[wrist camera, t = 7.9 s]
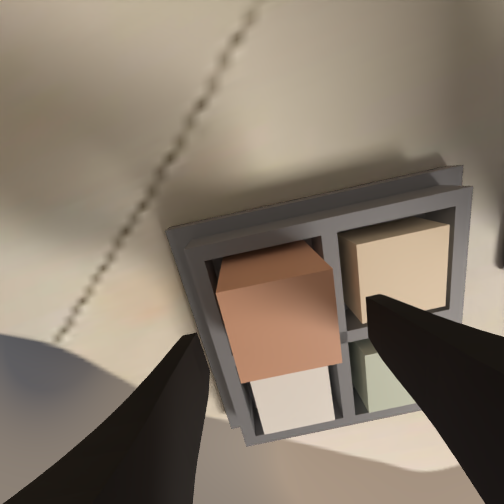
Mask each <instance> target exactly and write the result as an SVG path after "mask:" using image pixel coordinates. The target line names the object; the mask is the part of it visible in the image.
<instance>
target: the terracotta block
mask: <svg viewBox="0 0 504 504" xmlns="http://www.w3.org/2000/svg"><path fill="white" fill-rule="evenodd" d="M216 296H217V300H218V303H219V307H220V310H221V314H222V317H223V321H224V324H225V328H226V332H227V335H228V339H229V342H230V346H231V349H232V353H233V356H234V360H235V364H236V367H237V371H238V374H239V378H240V381H241V383H246V382H251V381H256V380H261V379H266V378H271V377H276V376H280V375H285V374H290V373H295V372H300V371H305V370H310V369H315V368H320V367H324V366H329V365H334V364H339V363H342V354H341V344H340V334H339V324H338V315H337V305H336V295H335V285H334V275H333V268H332V267H331V266H330V265H328V264H327V263H326V262H325V261H324V260H323V259H322V258H321V257H320V256H319V255H318V254H317V253H316V252H315V251H314V250H313V249H312V248H311V247H310V246H309V245H308V244H307V243H306V242H305V241H304V240H298V241H294V242H289V243H284V244H280V245H275V246H271V247H266V248H262V249H257V250H252V251H248V252H243V253H239V254H234V255H230V256H225V257H223V259H222V264H221V269H220V274H219V279H218V284H217V289H216Z"/></svg>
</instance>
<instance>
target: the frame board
mask: <svg viewBox="0 0 504 504" xmlns="http://www.w3.org/2000/svg"><path fill="white" fill-rule="evenodd" d="M462 176H463V165H456V166H445V167H441V168H436V169H432V170H427V171H423V172H418V173H414V174H409V175H405V176H400V177H396V178H391V179H387V180H382V181H377V182H373V183H368V184H364V185H359V186H355V187H350V188H346V189H341V190H337V191H332V192H328V193H323V194H319V195H314V196H310V197H305V198H300V199H296V200H291V201H287V202H282V203H278V204H273V205H269V206H264V207H260V208H255V209H251V210H246V211H242V212H237V213H233V214H228V215H224V216H219V217H214V218H210V219H205V220H201V221H196V222H192V223H187V224H183V225H178V226H174V227H170V228H168V229H167V230H166V231H165V232H166V235H167V238H168V241H169V244H170V247H171V250H172V253H173V256H174V259H175V262H176V265H177V268H178V271H179V274H180V277H181V280H182V283H183V286H184V289H185V292H186V295H187V298H188V301H189V304H190V307H191V310H192V313H193V316H194V319H195V322H196V325H197V328H198V331H199V333H200V336H201V339H202V342H203V345H204V348H205V351H206V354H207V357H208V360H209V363H210V366H211V369H212V372H213V375H214V378H215V381H216V384H217V387H218V390H219V393H220V396H221V399H222V402H223V405H224V408H225V411H226V414H227V417H228V420H229V423H230V426H231V429H233V428H238V427H240V428H241V431H242V434H243V437H244V440H245V443H246V446H252V445H257V444H262V443H267V442H272V441H276V440H281V439H286V438H291V437H296V436H300V435H305V434H310V433H315V432H320V431H324V430H329V429H334V428H339V427H344V426H349V425H353V424H358V423H363V422H368V421H373V420H377V419H382V418H387V417H392V416H397V415H401V414H406V413H411V412H416V411H421V408H420V407H419V406H418V405H417V403H416V402H415V401H414V400H413V398H412V397H411V396H410V395H409V393H408V392H407V391H406V390H405V388H404V387H403V386H402V385H401V383H400V382H399V381H398V380H397V378H396V377H395V376H394V375H393V373H392V372H391V371H390V369H389V368H388V367H387V366H386V364H385V363H384V362H383V360H382V359H381V357H380V356H379V354H378V353H377V351H376V350H375V348H374V346H373V345H372V343H371V341H370V340H369V338H368V327H367V312H366V297H368V296H372V295H377V294H382V295H385V296H388V297H391V298H394V299H396V300H399V301H401V302H404V303H407V304H409V305H412V306H414V307H417V308H419V309H422V310H425V311H427V312H430V313H432V314H435V315H438V316H441V317H443V318H446V319H449V320H452V321H455V322H458V323H461V324H462V316H463V304H464V292H465V280H466V267H467V255H468V243H469V231H470V218H471V206H472V194H473V186H462ZM298 240H304V241H305V242H306V243H307V244H308V245H309V246H310V247H311V248H312V249H313V250H314V251H315V252H316V253H317V254H318V255H319V256H320V257H321V258H322V259H323V260H324V261H325V262H326V263H327V264H328V265H330V266H331V267H332V268H333V275H334V285H335V295H336V305H337V315H338V324H339V334H340V344H341V354H342V363H339V364H334V365H329V366H324V367H320V368H315V369H310V370H305V371H300V372H295V373H290V374H285V375H280V376H276V377H271V378H266V379H261V380H256V381H251V382H246V383H241V381H240V378H239V374H238V371H237V367H236V364H235V360H234V356H233V353H232V349H231V346H230V342H229V339H228V335H227V332H226V328H225V324H224V321H223V317H222V314H221V310H220V307H219V303H218V300H217V296H216V289H217V284H218V279H219V274H220V269H221V264H222V259H223V257H225V256H230V255H234V254H239V253H243V252H248V251H252V250H257V249H262V248H266V247H271V246H275V245H280V244H284V243H289V242H294V241H298Z"/></svg>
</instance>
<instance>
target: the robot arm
mask: <svg viewBox="0 0 504 504" xmlns="http://www.w3.org/2000/svg"><path fill="white" fill-rule="evenodd" d="M366 312H367V327H368V338H369V340H370V341H371V343H372V345H373V346H374V348H375V350H376V351H377V353H378V354H379V356H380V357H381V359H382V360H383V362H384V363H385V364H386V366H387V367H388V368H389V369H390V371H391V372H392V373H393V375H394V376H395V377H396V378H397V380H398V381H399V382H400V383H401V385H402V386H403V387H404V388H405V390H406V391H407V392H408V393H409V395H410V396H411V397H412V398H413V400H414V401H415V402H416V403H417V405H418V406H419V407H420V408H421V410H422V411H423V412H424V413H425V415H426V416H427V417H428V419H429V420H430V421H431V423H432V424H433V425H434V427H435V428H436V430H437V431H438V433H439V434H440V435H441V437H442V438H443V440H444V441H445V443H446V444H447V446H448V447H449V449H450V450H451V452H452V453H453V455H454V456H455V458H456V459H457V461H458V462H459V464H460V465H461V467H462V468H463V470H464V471H465V473H466V475H467V476H468V478H469V479H470V481H471V482H472V484H473V485H474V487H475V488H476V490H477V491H478V493H479V495H480V496H481V498H482V499H483V501H484V502H485V504H504V337H502V336H499V335H495V334H492V333H488V332H485V331H482V330H479V329H475V328H472V327H469V326H467V325H464V324H461V323H458V322H455V321H452V320H449V319H446V318H443V317H441V316H438V315H435V314H432V313H430V312H427V311H425V310H422V309H419V308H417V307H414V306H412V305H409V304H407V303H404V302H401V301H399V300H396V299H394V298H391V297H388V296H385V295H382V294H377V295H372V296H368V297H366ZM209 375H210V370H209V367H208V364H207V361H206V358H205V355H204V352H203V349H202V346H201V343H200V340H199V337H198V335H197V333H193V334H188V335H183V336H182V337H181V338H180V339H179V340H178V341H177V343H176V344H175V345H174V346H173V347H172V349H171V350H170V351H169V352H168V353H167V355H166V356H165V357H164V358H163V359H162V360H161V362H160V363H159V364H158V365H157V366H156V367H155V369H154V370H153V371H152V372H151V373H150V374H149V376H148V377H147V378H146V379H145V380H144V381H143V382H142V383H141V384H140V385H139V386H138V387H137V389H136V390H135V391H134V392H133V393H132V394H131V395H130V396H129V397H128V398H127V399H126V400H125V401H124V402H123V404H121V405H120V406H119V407H118V408H117V409H116V410H115V411H114V412H113V413H112V414H111V415H110V416H109V417H108V418H107V419H106V420H105V421H104V422H103V423H102V424H100V425H99V426H98V427H97V428H96V429H95V430H94V431H93V432H92V433H90V434H89V435H88V436H87V437H86V438H85V439H84V440H82V441H81V442H80V443H79V444H78V445H77V446H75V447H74V448H73V449H72V450H71V451H70V452H68V453H67V454H66V455H65V456H64V457H62V458H61V459H60V460H59V461H58V462H56V463H55V464H54V465H53V466H51V467H50V468H49V469H48V470H46V471H45V472H44V473H43V474H41V475H40V476H39V477H37V478H36V479H35V480H34V481H32V482H31V483H30V484H28V485H27V486H26V487H24V488H23V489H22V490H20V491H19V492H18V493H17V494H15V495H14V496H13V497H11V498H10V499H9V500H7V501H6V502H5V503H3V504H193V493H194V483H195V473H196V466H197V459H198V453H199V448H200V442H201V436H202V431H203V424H204V419H205V413H206V407H207V401H208V394H209Z"/></svg>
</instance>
